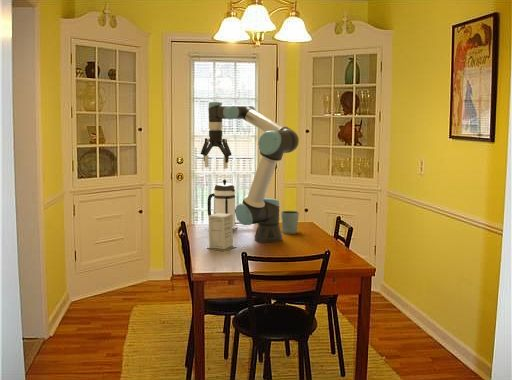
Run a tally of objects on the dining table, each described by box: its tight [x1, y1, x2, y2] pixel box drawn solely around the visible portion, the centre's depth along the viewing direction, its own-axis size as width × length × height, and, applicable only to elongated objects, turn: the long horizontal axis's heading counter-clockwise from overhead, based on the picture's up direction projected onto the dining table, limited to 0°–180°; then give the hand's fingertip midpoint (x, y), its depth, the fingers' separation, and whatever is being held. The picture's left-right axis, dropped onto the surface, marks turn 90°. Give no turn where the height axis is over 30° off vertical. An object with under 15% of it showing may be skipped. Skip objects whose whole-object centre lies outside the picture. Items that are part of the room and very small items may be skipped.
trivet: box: [206, 245, 237, 252], centre depth 306 cm, size 11×11×1 cm
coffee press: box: [207, 179, 238, 230], centre depth 352 cm, size 17×16×30 cm
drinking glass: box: [280, 210, 300, 235], centre depth 344 cm, size 10×10×12 cm
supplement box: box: [208, 213, 234, 249], centre depth 305 cm, size 10×9×17 cm
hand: (216, 167), depth 330 cm, fingers open, 13 cm apart
